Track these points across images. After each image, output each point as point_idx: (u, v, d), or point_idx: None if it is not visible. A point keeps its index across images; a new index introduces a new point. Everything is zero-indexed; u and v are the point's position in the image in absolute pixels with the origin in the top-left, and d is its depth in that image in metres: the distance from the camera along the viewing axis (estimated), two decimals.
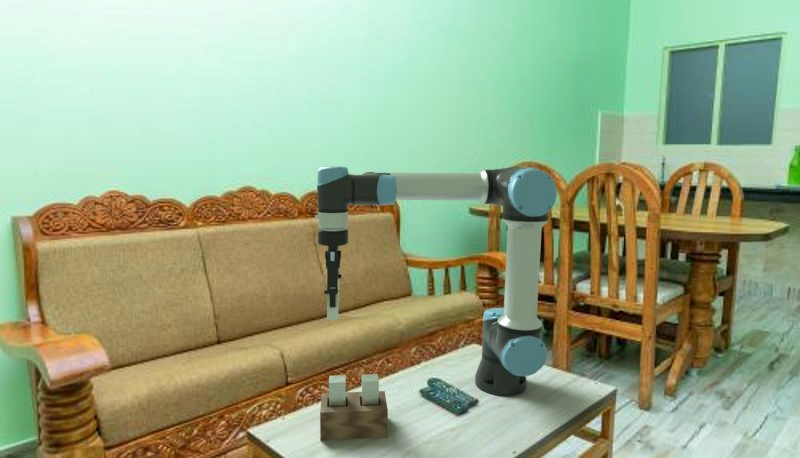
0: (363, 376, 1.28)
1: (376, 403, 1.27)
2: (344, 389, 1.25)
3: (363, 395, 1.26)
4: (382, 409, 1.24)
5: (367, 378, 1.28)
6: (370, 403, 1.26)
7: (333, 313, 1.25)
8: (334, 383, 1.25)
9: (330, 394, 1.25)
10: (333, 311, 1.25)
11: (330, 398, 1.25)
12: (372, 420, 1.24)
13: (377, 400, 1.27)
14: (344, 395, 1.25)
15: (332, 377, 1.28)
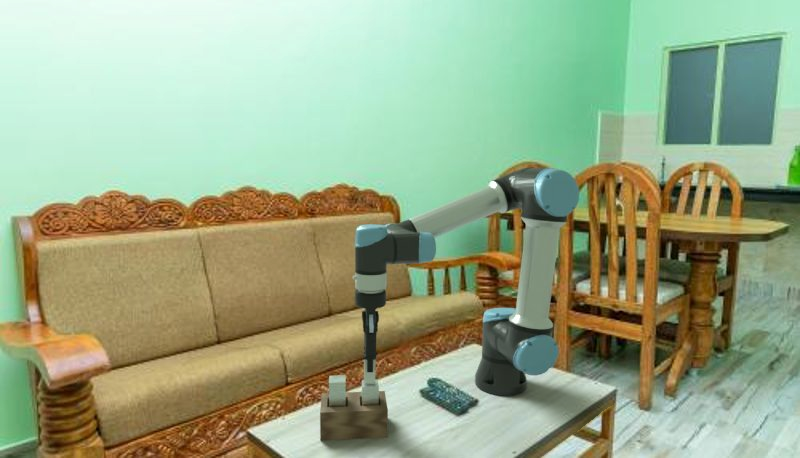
0: (363, 381, 1.29)
1: None
2: (344, 389, 1.25)
3: (363, 401, 1.26)
4: (382, 409, 1.24)
5: None
6: None
7: (370, 377, 1.27)
8: (334, 383, 1.25)
9: (330, 394, 1.25)
10: (370, 375, 1.27)
11: (330, 398, 1.25)
12: (372, 420, 1.24)
13: None
14: (344, 395, 1.25)
15: (332, 377, 1.28)
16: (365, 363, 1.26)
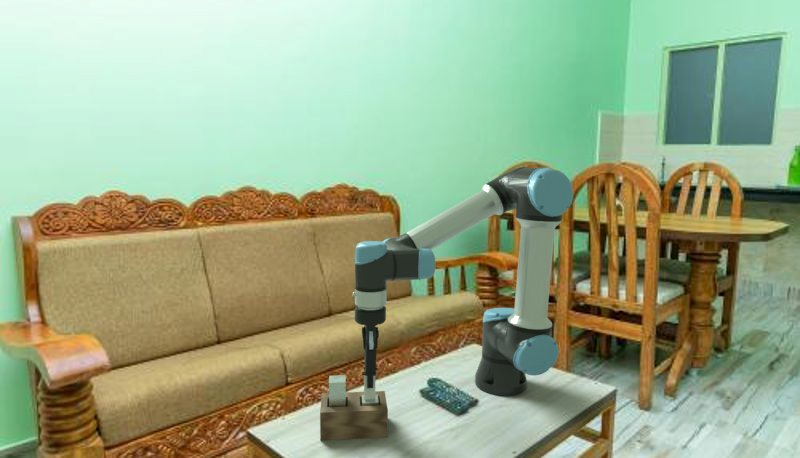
0: (363, 397, 1.29)
1: None
2: (344, 389, 1.25)
3: None
4: (382, 409, 1.24)
5: (367, 399, 1.28)
6: None
7: (370, 393, 1.27)
8: (334, 383, 1.25)
9: (330, 394, 1.25)
10: (371, 391, 1.27)
11: (330, 398, 1.25)
12: (372, 420, 1.24)
13: None
14: (344, 395, 1.25)
15: (332, 377, 1.28)
16: (365, 379, 1.27)
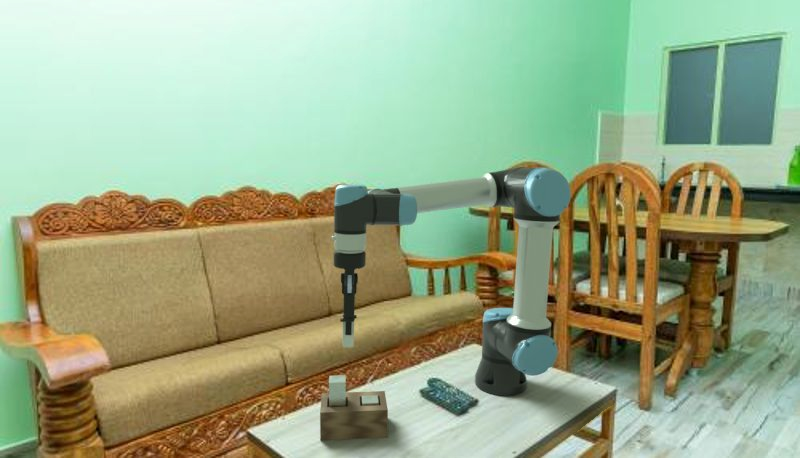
0: (363, 397, 1.29)
1: None
2: (344, 389, 1.25)
3: None
4: (382, 409, 1.24)
5: (367, 399, 1.28)
6: None
7: (348, 340, 1.25)
8: (334, 383, 1.25)
9: (330, 394, 1.25)
10: (349, 338, 1.25)
11: (330, 398, 1.25)
12: (372, 420, 1.24)
13: None
14: (344, 395, 1.25)
15: (332, 377, 1.28)
16: (343, 326, 1.24)
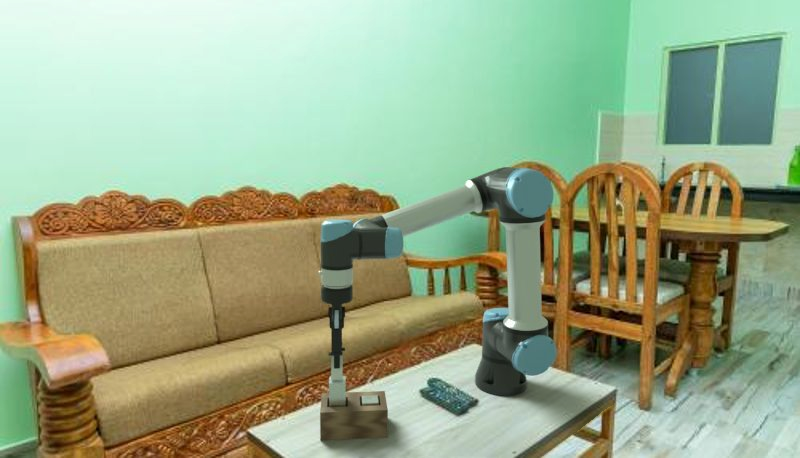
0: (363, 397, 1.29)
1: None
2: (344, 390, 1.25)
3: None
4: (382, 409, 1.24)
5: (367, 399, 1.28)
6: None
7: (337, 373, 1.26)
8: (334, 384, 1.25)
9: (330, 395, 1.25)
10: (338, 371, 1.26)
11: (330, 398, 1.25)
12: (372, 420, 1.24)
13: None
14: (344, 396, 1.26)
15: None
16: (332, 359, 1.25)
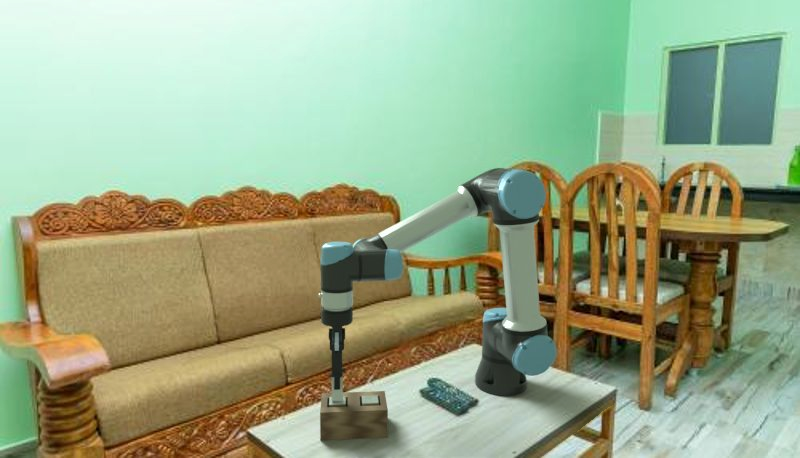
0: (363, 397, 1.29)
1: None
2: None
3: None
4: (382, 409, 1.24)
5: (367, 399, 1.28)
6: None
7: (337, 394, 1.27)
8: (334, 405, 1.26)
9: None
10: (338, 392, 1.27)
11: None
12: (372, 420, 1.24)
13: None
14: None
15: None
16: (332, 380, 1.26)
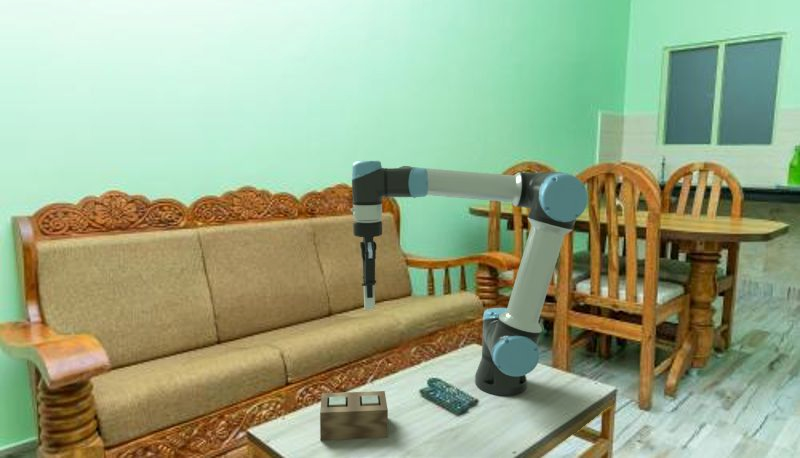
0: (363, 397, 1.29)
1: None
2: None
3: None
4: (382, 409, 1.24)
5: (367, 399, 1.28)
6: None
7: (370, 303, 1.37)
8: (334, 405, 1.26)
9: None
10: (370, 301, 1.37)
11: None
12: (372, 420, 1.24)
13: None
14: None
15: (332, 398, 1.28)
16: (365, 290, 1.36)
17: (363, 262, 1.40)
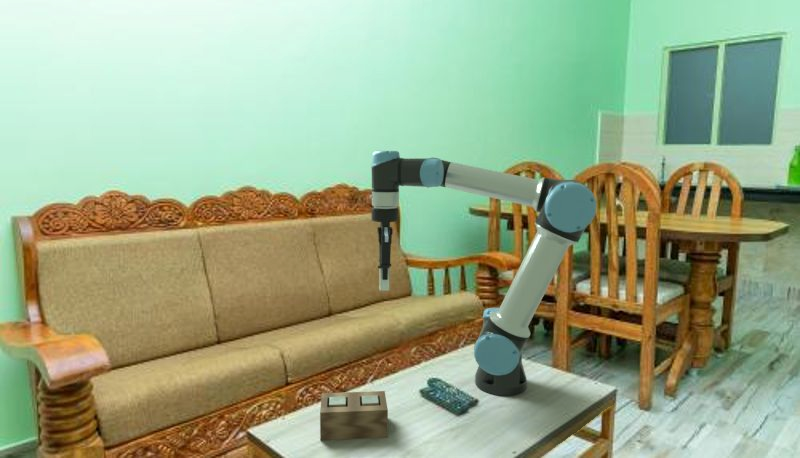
0: (363, 397, 1.29)
1: None
2: None
3: None
4: (382, 409, 1.24)
5: (367, 399, 1.28)
6: None
7: (385, 285, 1.46)
8: (334, 405, 1.26)
9: None
10: (385, 283, 1.46)
11: None
12: (372, 420, 1.24)
13: None
14: None
15: (332, 398, 1.28)
16: (380, 272, 1.45)
17: (380, 246, 1.48)
